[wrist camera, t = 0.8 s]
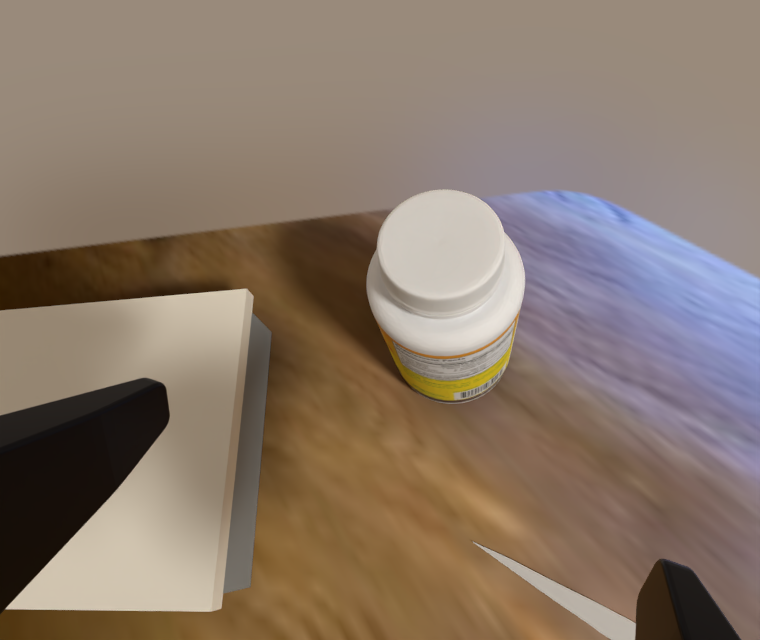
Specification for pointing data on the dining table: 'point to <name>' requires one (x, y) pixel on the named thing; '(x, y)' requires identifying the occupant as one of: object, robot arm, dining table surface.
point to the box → (154, 445)
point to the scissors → (574, 602)
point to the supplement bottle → (446, 294)
